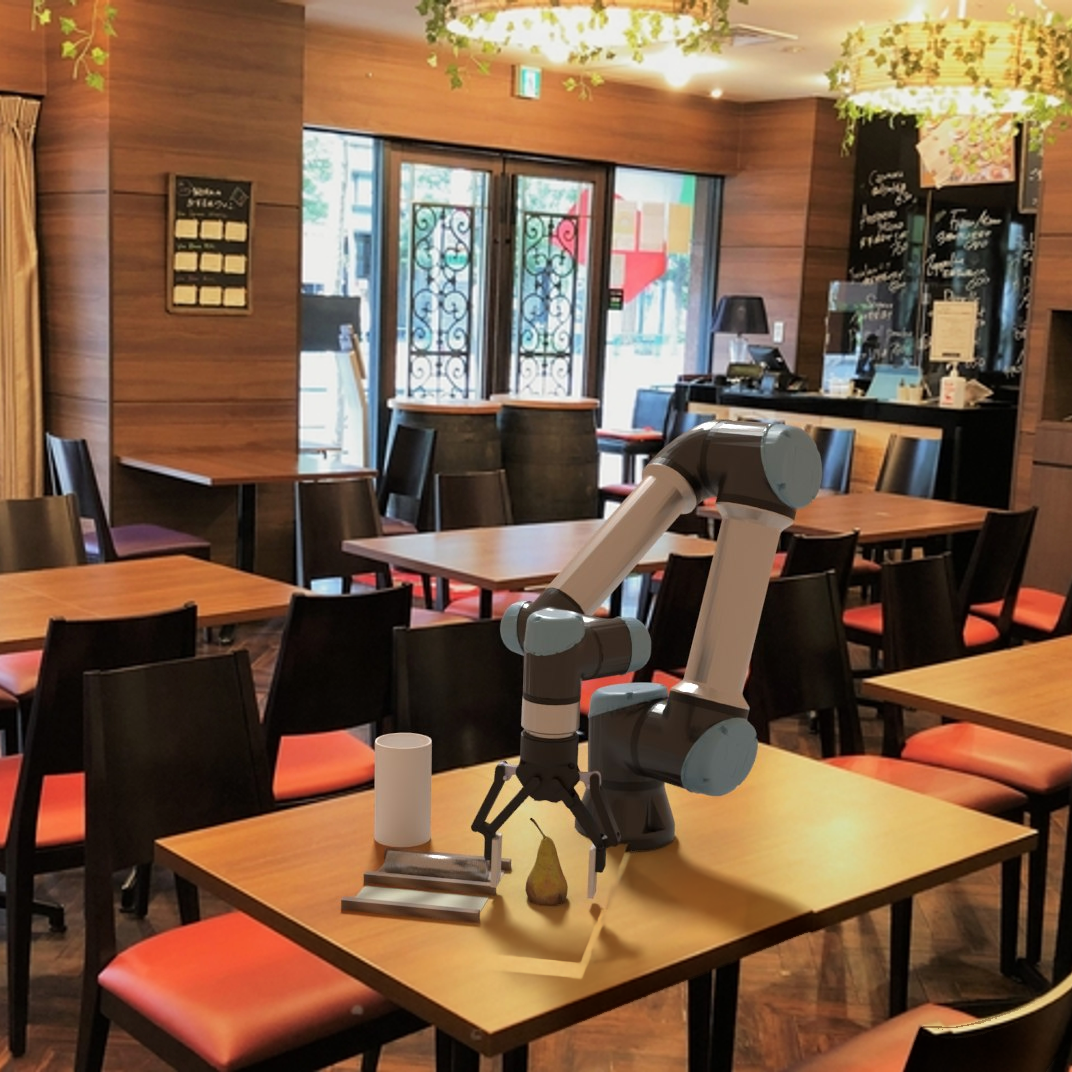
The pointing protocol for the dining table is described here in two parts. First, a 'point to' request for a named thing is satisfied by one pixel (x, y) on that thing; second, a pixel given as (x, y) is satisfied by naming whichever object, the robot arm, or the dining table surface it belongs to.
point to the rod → (437, 866)
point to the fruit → (546, 876)
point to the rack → (423, 893)
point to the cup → (402, 789)
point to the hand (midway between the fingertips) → (543, 889)
